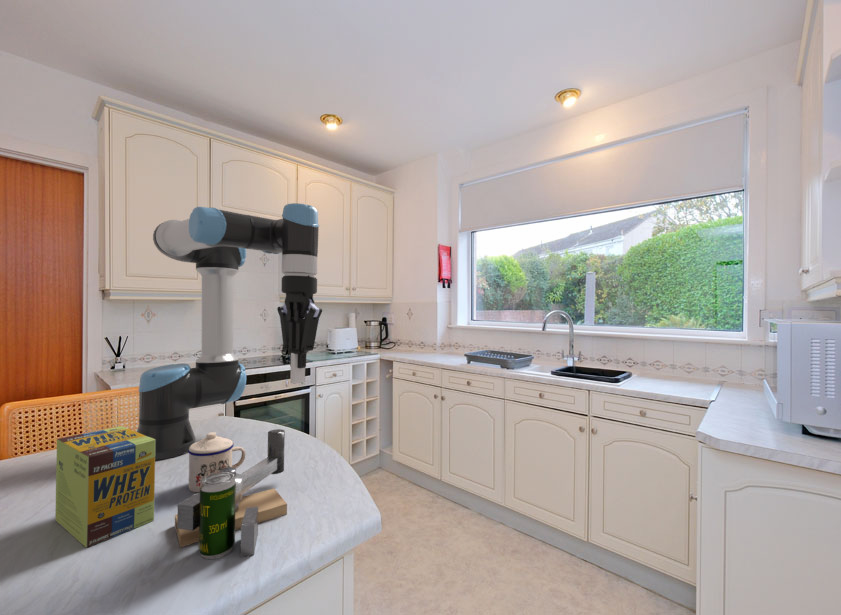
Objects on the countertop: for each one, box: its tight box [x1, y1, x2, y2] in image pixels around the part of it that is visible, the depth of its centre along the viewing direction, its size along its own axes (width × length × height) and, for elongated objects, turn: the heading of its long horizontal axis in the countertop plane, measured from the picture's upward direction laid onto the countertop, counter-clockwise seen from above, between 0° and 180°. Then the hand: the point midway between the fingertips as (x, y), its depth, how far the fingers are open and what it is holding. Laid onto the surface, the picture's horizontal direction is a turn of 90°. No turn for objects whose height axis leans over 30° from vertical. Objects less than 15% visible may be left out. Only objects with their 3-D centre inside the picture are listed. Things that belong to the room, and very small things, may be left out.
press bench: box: [174, 488, 288, 548], centre depth 74 cm, size 8×18×2 cm, turn 128°
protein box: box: [54, 425, 156, 549], centre depth 73 cm, size 10×15×16 cm
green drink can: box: [198, 472, 236, 560], centre depth 65 cm, size 5×5×12 cm
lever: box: [177, 428, 286, 531], centre depth 77 cm, size 28×5×9 cm, turn 168°
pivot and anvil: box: [220, 467, 259, 558], centre depth 70 cm, size 15×6×10 cm, turn 38°
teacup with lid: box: [187, 431, 247, 493], centre depth 89 cm, size 12×9×12 cm
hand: (297, 382), depth 86 cm, fingers closed
